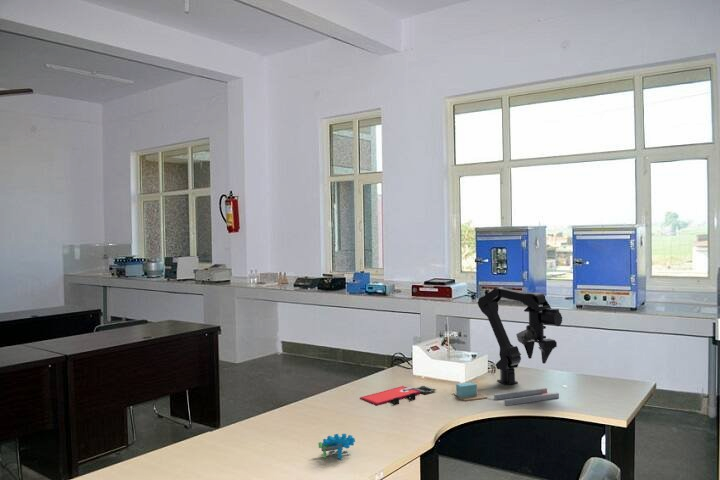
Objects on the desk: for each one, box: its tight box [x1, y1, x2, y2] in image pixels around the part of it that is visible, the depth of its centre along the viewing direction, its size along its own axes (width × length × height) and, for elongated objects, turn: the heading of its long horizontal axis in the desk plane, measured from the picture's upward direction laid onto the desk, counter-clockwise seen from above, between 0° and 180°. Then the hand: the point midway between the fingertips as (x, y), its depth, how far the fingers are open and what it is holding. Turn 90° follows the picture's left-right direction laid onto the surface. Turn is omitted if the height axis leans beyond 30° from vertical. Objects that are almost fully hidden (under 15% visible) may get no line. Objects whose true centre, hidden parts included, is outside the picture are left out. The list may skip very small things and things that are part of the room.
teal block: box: [455, 381, 478, 398], centre depth 219 cm, size 4×7×4 cm, turn 109°
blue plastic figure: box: [318, 433, 356, 460], centre depth 164 cm, size 11×6×10 cm
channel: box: [493, 387, 560, 406], centre depth 215 cm, size 8×24×2 cm, turn 109°
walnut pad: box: [452, 391, 488, 402], centre depth 220 cm, size 10×10×1 cm
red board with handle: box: [359, 385, 437, 407], centre depth 223 cm, size 30×3×15 cm
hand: (536, 360), depth 226 cm, fingers open, 9 cm apart
